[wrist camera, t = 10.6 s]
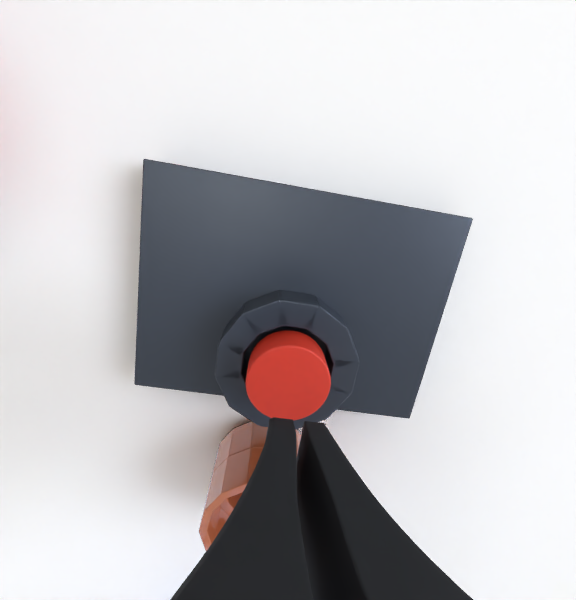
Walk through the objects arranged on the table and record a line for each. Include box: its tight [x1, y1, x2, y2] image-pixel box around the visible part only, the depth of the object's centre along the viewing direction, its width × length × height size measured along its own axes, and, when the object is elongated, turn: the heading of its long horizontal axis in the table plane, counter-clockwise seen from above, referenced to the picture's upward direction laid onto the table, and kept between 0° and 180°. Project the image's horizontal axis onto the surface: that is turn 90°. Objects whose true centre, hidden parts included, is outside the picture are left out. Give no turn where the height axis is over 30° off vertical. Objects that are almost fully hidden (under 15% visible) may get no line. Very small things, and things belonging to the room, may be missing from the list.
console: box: [135, 159, 473, 430], centre depth 16 cm, size 11×15×4 cm
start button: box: [246, 330, 331, 420], centre depth 14 cm, size 4×4×2 cm
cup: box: [199, 421, 301, 551], centre depth 18 cm, size 6×6×5 cm
